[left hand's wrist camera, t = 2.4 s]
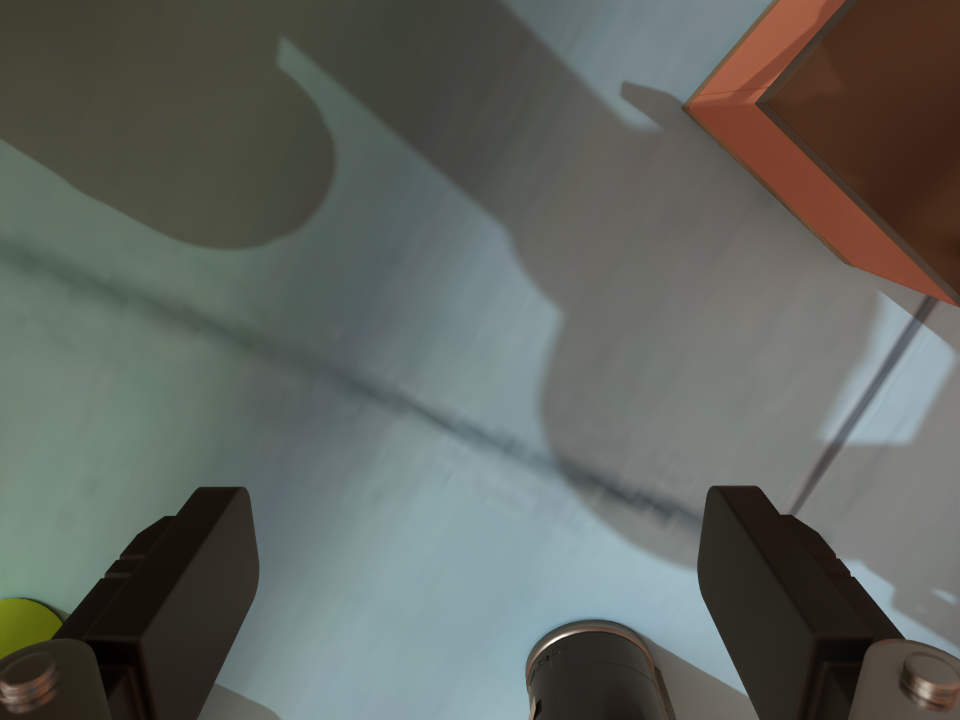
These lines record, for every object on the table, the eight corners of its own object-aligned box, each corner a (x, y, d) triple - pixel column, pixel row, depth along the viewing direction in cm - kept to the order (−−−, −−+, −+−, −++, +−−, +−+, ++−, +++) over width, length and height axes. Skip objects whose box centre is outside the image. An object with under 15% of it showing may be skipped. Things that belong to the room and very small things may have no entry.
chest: (979, 129, 35) (1152, 133, 26) (844, 263, 38) (958, 308, 29) (816, -51, 33) (947, -117, 23) (681, 107, 35) (752, 103, 26)
